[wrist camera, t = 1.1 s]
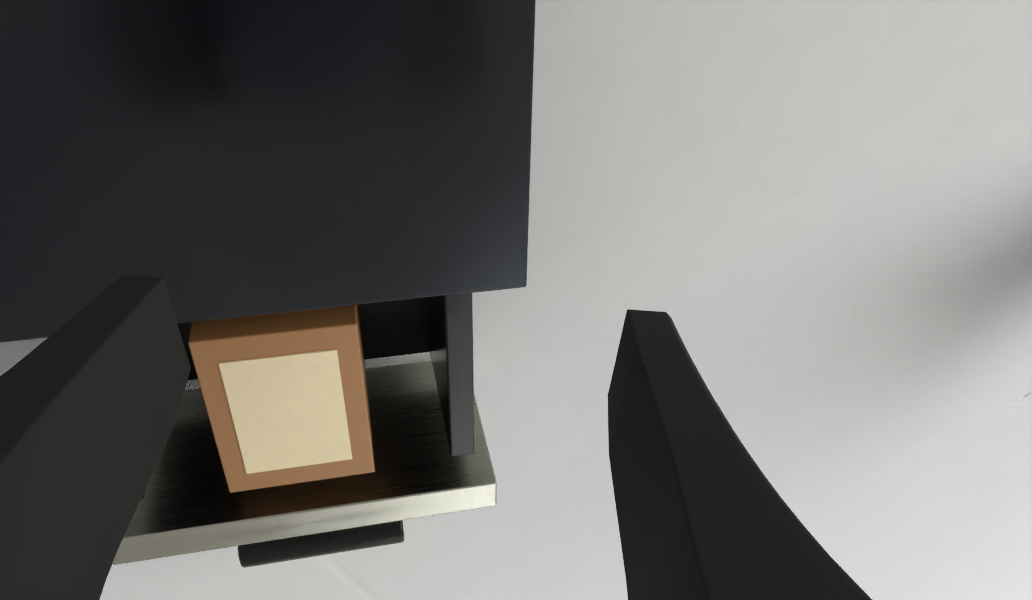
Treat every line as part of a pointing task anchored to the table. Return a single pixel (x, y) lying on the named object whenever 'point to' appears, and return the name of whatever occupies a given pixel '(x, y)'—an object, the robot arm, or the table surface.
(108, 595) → the table surface
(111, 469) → the robot arm
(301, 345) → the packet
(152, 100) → the black storage cabinet
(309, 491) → the drawer
